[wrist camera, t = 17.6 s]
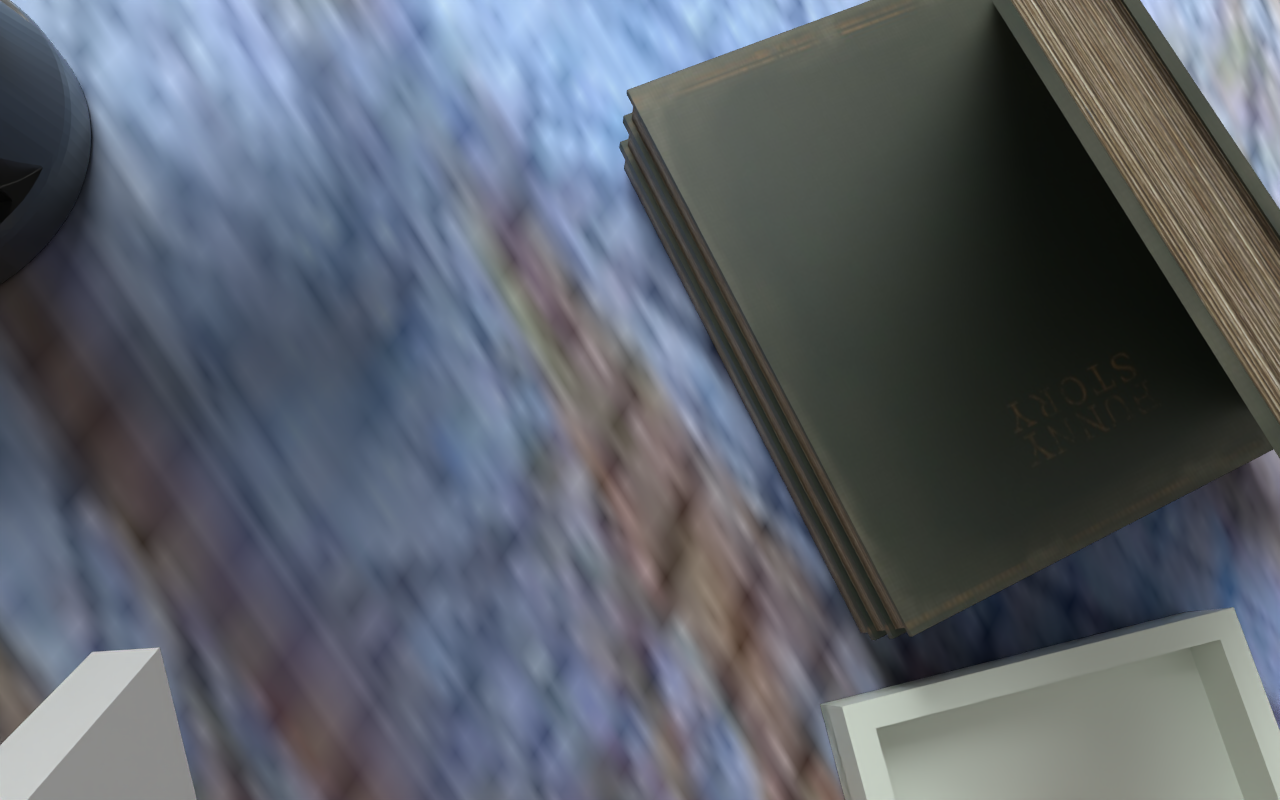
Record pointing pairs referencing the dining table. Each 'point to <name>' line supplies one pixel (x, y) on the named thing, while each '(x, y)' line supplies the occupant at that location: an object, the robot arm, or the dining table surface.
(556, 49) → the dining table surface
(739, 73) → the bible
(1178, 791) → the tray
